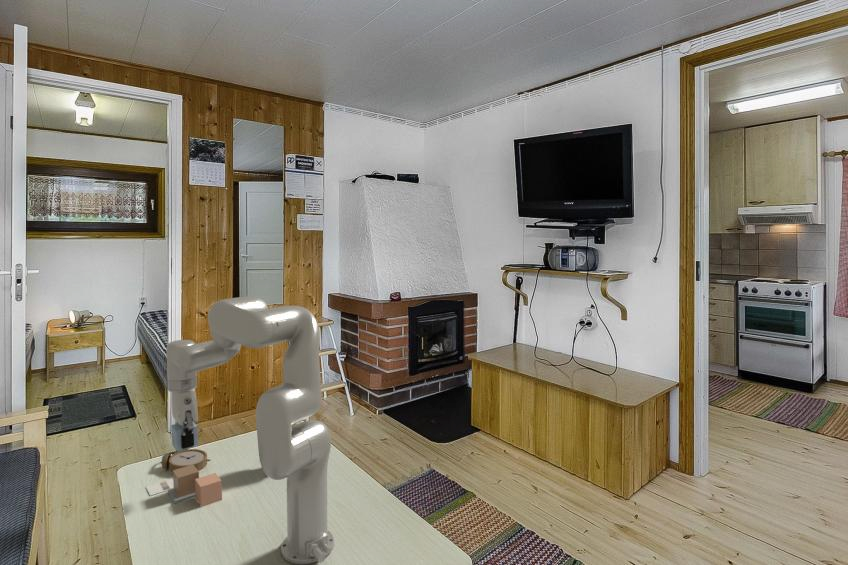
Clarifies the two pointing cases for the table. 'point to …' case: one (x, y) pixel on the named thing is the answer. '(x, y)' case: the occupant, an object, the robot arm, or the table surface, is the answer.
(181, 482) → the base
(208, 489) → the terracotta block
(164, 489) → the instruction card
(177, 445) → the blue block
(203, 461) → the alarm clock
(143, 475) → the table surface
